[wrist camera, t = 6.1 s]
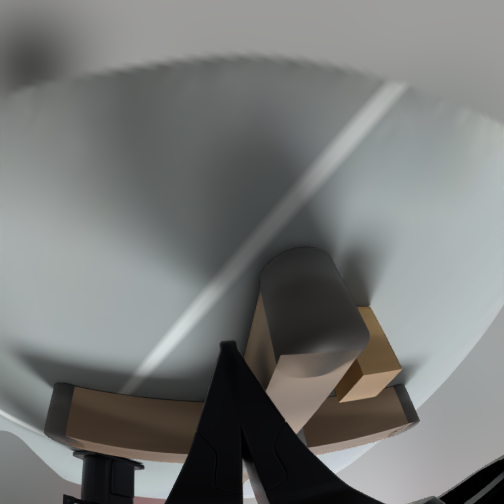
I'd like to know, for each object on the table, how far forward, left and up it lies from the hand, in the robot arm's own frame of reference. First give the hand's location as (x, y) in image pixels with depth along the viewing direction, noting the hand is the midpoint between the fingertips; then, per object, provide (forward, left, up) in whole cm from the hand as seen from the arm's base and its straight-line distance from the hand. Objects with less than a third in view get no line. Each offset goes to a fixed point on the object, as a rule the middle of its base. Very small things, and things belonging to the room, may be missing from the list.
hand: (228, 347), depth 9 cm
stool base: (-5, -9, -2) cm, 11 cm away
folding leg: (+1, -2, -1) cm, 3 cm away
